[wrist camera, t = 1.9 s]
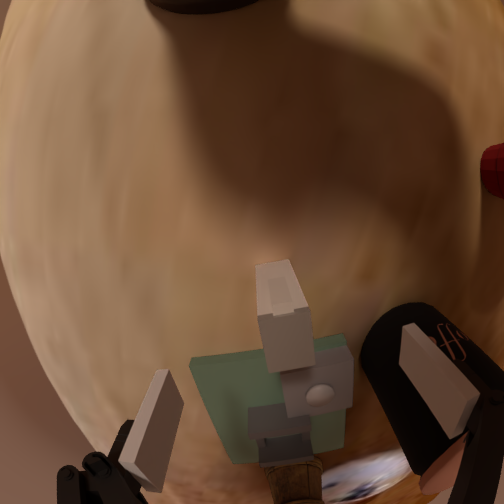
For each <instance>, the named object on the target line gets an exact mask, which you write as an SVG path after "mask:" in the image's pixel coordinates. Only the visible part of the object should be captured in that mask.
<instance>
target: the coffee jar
mask: <svg viewBox="0 0 504 504" xmlns="http://www.w3.org/2000/svg"><path fill="white" fill-rule="evenodd" d="M411 323H415V324H416V325H417V326H418V327H419V328H420V329H421V330H422V331H423V332H424V333H425V334H426V336H427V337H428V338H429V339H430V340H431V341H432V342H433V343H434V344H435V345H436V346H437V347H438V348H439V349H440V350H441V351H442V352H443V353H444V354H445V355H446V356H447V357H448V358H449V359H450V360H451V361H453V360H455V359H459V360H461V361H464V362H465V363H466V364H467V365H468V366H469V367H470V368H471V369H472V370H473V371H474V372H475V374H477V375H478V376H479V377H480V378H481V379H482V380H483V381H484V383H485V384H486V385H487V386H488V387H489V388H490V389H491V390H501V391H503V392H504V371H503V370H502V369H501V368H500V367H499V366H498V365H497V364H496V363H495V362H494V361H493V360H492V359H491V358H490V357H489V356H487V355H486V354H485V353H484V352H483V351H482V350H481V349H480V348H479V347H478V346H477V345H476V344H475V343H474V342H473V341H472V340H470V339H469V338H468V337H467V336H466V335H465V334H464V333H463V332H462V331H460V330H459V329H458V328H457V327H456V326H455V325H454V324H453V323H451V322H450V321H449V320H448V319H447V318H446V317H445V316H443V315H442V314H441V313H440V312H439V311H438V310H436V309H435V308H434V307H433V306H430V305H428V304H426V303H422V302H417V303H407V304H403V305H400V306H397V307H395V308H393V309H391V310H390V311H388V312H387V313H385V314H384V315H382V316H381V317H380V319H379V320H378V321H377V322H376V323H375V324H374V325H373V326H372V328H371V330H370V331H369V333H368V335H367V336H366V339H365V342H364V345H363V349H362V352H361V361H362V368H363V370H364V372H365V374H366V376H367V378H368V380H369V382H370V383H371V385H372V387H373V389H374V391H375V393H376V395H377V397H378V399H379V401H380V403H381V405H382V407H383V410H384V412H385V414H386V416H387V418H388V420H389V422H390V424H391V426H392V428H393V430H394V432H395V434H396V437H397V439H398V441H399V443H400V445H401V447H402V449H403V452H404V454H405V456H406V458H407V460H408V463H409V465H410V467H411V469H412V471H413V472H414V473H415V474H417V475H420V476H421V478H420V481H419V486H420V489H421V491H422V493H423V494H424V495H431V494H435V493H438V492H441V491H444V490H446V489H448V488H450V487H452V486H454V483H455V480H456V477H457V474H458V470H459V467H460V463H461V459H462V456H463V452H464V447H465V443H466V441H465V443H463V441H464V438H465V437H466V435H467V433H468V431H469V428H468V427H467V425H466V426H465V428H464V430H463V432H462V433H461V434H459V435H457V436H455V437H454V438H452V439H449V437H448V436H447V434H446V433H445V431H444V430H443V428H442V426H441V425H440V423H439V422H438V420H437V419H436V417H435V416H434V414H433V413H432V411H431V410H430V408H429V407H428V405H427V404H426V402H425V401H424V399H423V398H422V396H421V395H420V393H419V392H418V390H417V389H416V388H415V386H414V385H413V383H412V382H411V380H410V379H409V378H408V376H407V375H406V373H405V372H404V370H403V369H402V368H401V366H400V365H399V359H400V350H401V340H402V328H403V326H405V325H408V324H411Z"/></svg>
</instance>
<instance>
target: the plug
mask: <svg viewBox="0 0 504 504" xmlns="http://www.w3.org/2000/svg"><path fill="white" fill-rule="evenodd" d="M255 267H256V291H257V315H258V324H259V329H260V334H261V339H262V344H263V348H264V353H265V358H266V363H267V367H268V372H269V373H274V372H280V371H286V370H292V369H297V368H302V367H307V366H312V365H316V364H315V353H314V342H313V332H312V322H311V313H310V309H309V307H308V304H307V302H306V299H305V297H304V295H303V292H302V290H301V287H300V285H299V283H298V280H297V278H296V275H295V273H294V271H293V268H292V266H291V264H290V261H289V259H287V260H281V261H275V262H270V263H264V264H259V265H255Z"/></svg>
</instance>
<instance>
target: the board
mask: <svg viewBox="0 0 504 504" xmlns="http://www.w3.org/2000/svg"><path fill="white" fill-rule="evenodd" d="M313 342H314V353H315V364H316V365H312V366H307V367H302V368H297V369H292V370H286V371H280V372H274V373H269V372H268V367H267V363H266V358H265V353H264V349H259V350H252V351H245V352H238V353H230V354H222V355H214V356H205V357H195V358H191V361H190V364H189V368H190V370H191V373H192V375H193V378H194V380H195V383H196V385H197V388H198V390H199V392H200V395H201V397H202V400H203V402H204V404H205V406H206V409H207V411H208V413H209V416H210V418H211V420H212V422H213V424H214V427H215V429H216V431H217V433H218V435H219V437H220V439H221V441H222V443H223V445H224V447H225V449H226V451H227V453H228V455H229V457H230V459H231V461H232V463H233V464H243V463H256V462H259V465H260V468H262V467H271V466H279V465H287V464H293V463H299V462H305V461H311V460H314V455H313V454H317V453H322V452H327V451H331V450H335V449H340V448H344V436H345V419H346V408H350V407H352V403H353V381H354V358H353V356H352V354H351V352H350V350H349V348H348V346H347V341H346V339H345V337H344V335H343V333H342V334H337V335H333V336H328V337H324V338H319V339H314V340H313Z"/></svg>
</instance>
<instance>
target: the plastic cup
mask: <svg viewBox="0 0 504 504" xmlns="http://www.w3.org/2000/svg"><path fill="white" fill-rule="evenodd" d="M480 170H481V177H482V181H483V183H484V185H485V188H486V189H487V190H488V191H489V192H490V193H492V194H493V195H495V196H497V197H499V198H502V199H504V143H501V144H497V145H493V146H490V147H489V148H487V149H486V150H485V151H484V152H483V155H482V158H481V167H480Z"/></svg>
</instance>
